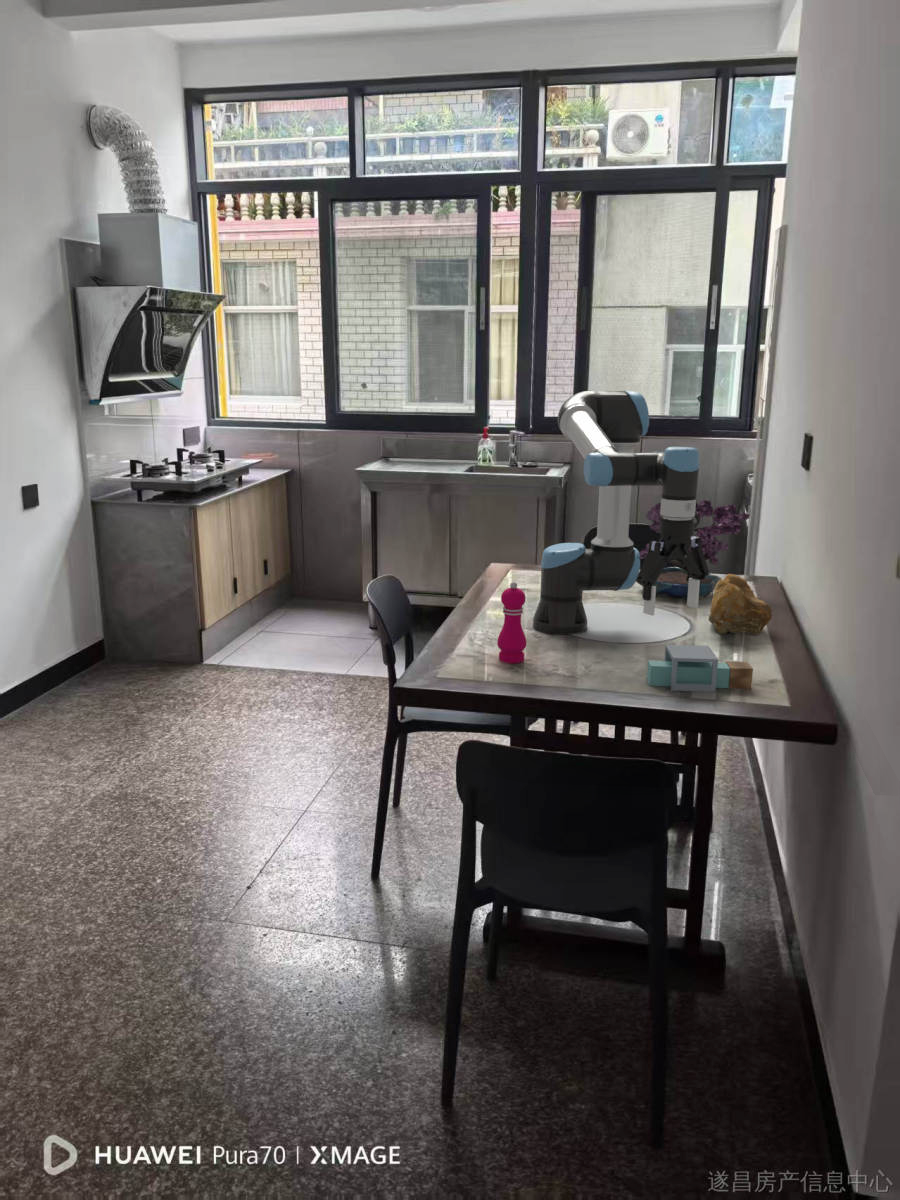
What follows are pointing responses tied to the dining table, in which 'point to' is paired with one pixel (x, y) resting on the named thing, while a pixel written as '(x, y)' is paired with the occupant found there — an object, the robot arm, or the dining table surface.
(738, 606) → the rough brown rock
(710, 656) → the tunnel
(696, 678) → the teal rod
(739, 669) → the walnut block
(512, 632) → the pepper mill
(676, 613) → the dining table surface
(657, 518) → the bonsai tree
